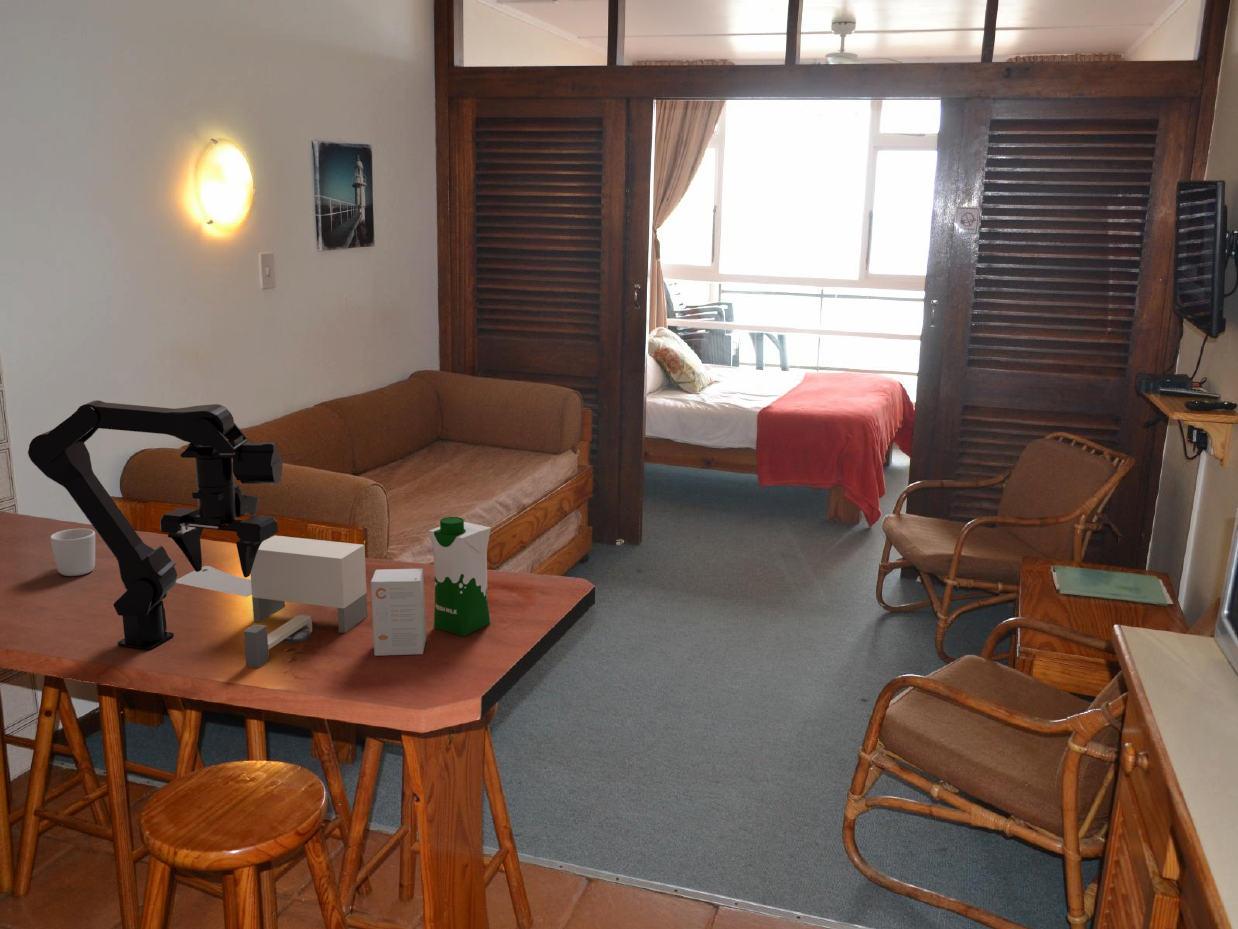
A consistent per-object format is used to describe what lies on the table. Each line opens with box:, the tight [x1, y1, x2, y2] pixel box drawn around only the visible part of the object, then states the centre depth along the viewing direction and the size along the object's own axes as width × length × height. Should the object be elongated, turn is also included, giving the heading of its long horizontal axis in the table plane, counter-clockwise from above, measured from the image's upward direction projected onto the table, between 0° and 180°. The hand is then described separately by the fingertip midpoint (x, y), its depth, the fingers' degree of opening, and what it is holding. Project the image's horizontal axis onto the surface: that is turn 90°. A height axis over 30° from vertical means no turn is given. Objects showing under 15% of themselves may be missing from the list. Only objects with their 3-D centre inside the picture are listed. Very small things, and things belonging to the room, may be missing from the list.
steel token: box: [283, 626, 311, 644], centre depth 181 cm, size 4×4×2 cm
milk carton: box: [428, 516, 492, 637], centre depth 185 cm, size 9×9×20 cm
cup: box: [49, 528, 96, 577], centre depth 212 cm, size 11×8×8 cm
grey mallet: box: [243, 614, 313, 669], centre depth 176 cm, size 16×2×6 cm, turn 165°
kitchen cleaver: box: [175, 565, 252, 598], centre depth 203 cm, size 31×2×10 cm
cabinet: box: [250, 535, 369, 634], centre depth 188 cm, size 8×18×14 cm, turn 75°
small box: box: [370, 568, 427, 657], centre depth 176 cm, size 8×6×13 cm
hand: (222, 573), depth 176 cm, fingers open, 9 cm apart
